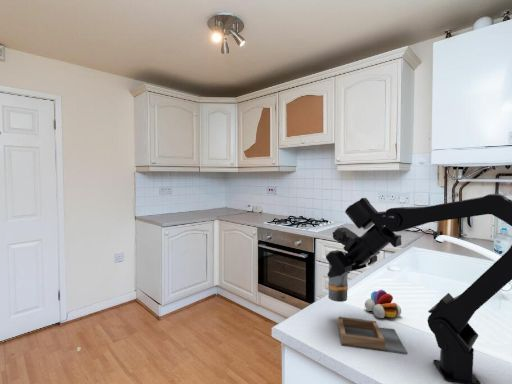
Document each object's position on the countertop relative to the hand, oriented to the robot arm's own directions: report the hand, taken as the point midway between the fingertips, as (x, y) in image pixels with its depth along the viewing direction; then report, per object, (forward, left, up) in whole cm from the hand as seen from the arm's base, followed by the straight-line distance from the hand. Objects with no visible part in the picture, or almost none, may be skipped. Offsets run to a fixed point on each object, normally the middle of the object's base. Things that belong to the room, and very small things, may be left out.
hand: (334, 274), depth 82 cm
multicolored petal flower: (+8, -16, -14) cm, 22 cm away
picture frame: (-8, -9, -14) cm, 18 cm away
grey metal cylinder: (-1, -1, -7) cm, 7 cm away
